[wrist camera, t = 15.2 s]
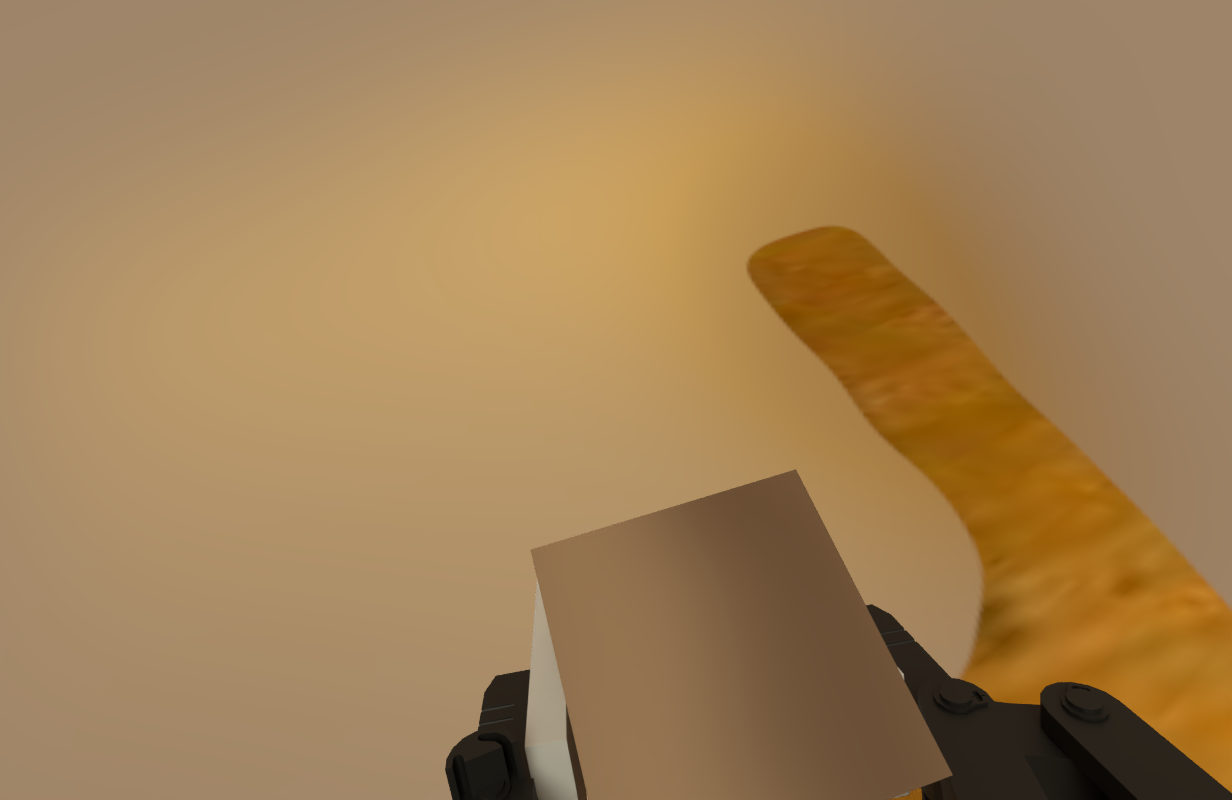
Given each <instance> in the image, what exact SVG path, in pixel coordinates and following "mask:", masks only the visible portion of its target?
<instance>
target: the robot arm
mask: <svg viewBox="0 0 1232 800" xmlns="http://www.w3.org/2000/svg"><path fill="white" fill-rule="evenodd" d="M866 607H867V609H868V611H869V613H870V615H871V617H872V619H873V621H874V623H875V625H876V627H877V628H878V630H879V632H880V634H881V636H882V638H883V640H884V642H885V644H886V646H887V648H888V650H889V652H890V654H891V656H892V658H893V660H894V662H895V663H896V665H897V667H898V669H899V671H900V673H901V675H902V677H903V679H904V681H905V683H906V685H907V687H908V689H909V691H910V693H911V695H912V697H913V699H914V700H915V702H916V704H917V706H918V708H919V710H920V712H921V714H922V716H923V718H924V720H925V722H926V724H927V726H928V728H929V730H930V732H931V734H932V735H933V737H934V739H935V741H936V743H937V745H938V747H939V749H940V751H941V753H942V755H943V757H944V759H945V761H946V763H947V765H948V767H949V769H950V770H951V772H952V774H953V775H952V776H949V777H947V778H944V779H942V780H939V781H936V782H934V783H931V784H928V785H926V786H923V787H920V788H921V789H922V800H1232V793H1231V792H1229V791H1228V790H1227V789H1226V788H1225V787H1223V786H1222V785H1221V784H1220V783H1219V782H1217V781H1216V780H1215V779H1214V778H1212V777H1211V776H1210V775H1209V774H1208V773H1206V772H1205V771H1204V770H1203V769H1202V768H1200V767H1199V766H1198V765H1197V764H1195V763H1194V762H1193V761H1192V760H1191V759H1189V758H1188V757H1187V756H1186V755H1185V754H1183V753H1182V752H1181V751H1180V750H1178V749H1177V748H1176V747H1175V746H1174V745H1172V744H1171V743H1170V742H1169V741H1168V740H1166V739H1165V738H1164V737H1163V736H1161V735H1160V734H1159V733H1158V732H1157V731H1155V730H1154V729H1153V728H1152V727H1151V726H1149V725H1148V724H1147V723H1146V722H1144V721H1143V720H1142V719H1141V718H1140V717H1138V716H1137V715H1136V714H1135V713H1134V712H1132V711H1131V710H1130V709H1129V708H1127V707H1126V706H1125V705H1124V704H1123V703H1121V702H1120V701H1119V700H1117V699H1116V698H1114V697H1113V696H1111V695H1109V694H1108V693H1106V692H1104V691H1102V690H1099V689H1097V688H1094V687H1091V686H1089V685H1084V684H1079V683H1073V682H1059V683H1054V684H1051V685H1049V686H1046V687H1045V688H1044V690H1043V691H1042V692H1041V693H1040V705H1032V704H1013V703H1002V702H995V701H993V700H992V698H991V697H990V696H989V695H988V694H987V693H986V692H985V691H984V690H982V689H981V688H979V687H977V686H976V685H974V684H972V683H969V682H966V681H963V680H960V679H954V678H951V677H950V676H949V675H948V674H947V673H946V672H945V671H944V670H943V669H942V668H941V667H940V666H939V665H938V664H937V662H935V661H934V659H933V658H932V657H931V656H930V655H929V654H928V653H927V652H926V651H925V650H924V649H923V648H922V647H921V646H920V645H919V644H918V643H917V642H915V641H914V638H913V637H912V636H911V635H910V634H909V633H908V632H907V631H904V628H903V627H902V626H901V625H900V624H899V623H898V622H897V620H896V619H895V618H894V617H893V616H892V615H891V614H889V613H887V612H885V611H883V610H881V609H879V608H878V607H876V606H874V605H866ZM445 771H446V775H447V778H448V783H449V787H450V791H451V795H452V799H453V800H587V794H586V787H585V783H584V778H583V774H582V770H581V765H580V761H579V757H578V752H577V748H576V744H575V739H574V735H573V731H572V726H571V722H570V718H569V713H568V709H567V705H566V700H565V696H564V692H563V687H562V683H561V679H560V674H559V670H558V666H557V661H556V657H555V653H554V649H553V644H552V640H551V636H550V631H549V627H548V623H547V618H546V614H545V610H544V605H543V601H542V597H541V592H540V588H539V584H538V579H537V586H536V600H535V613H534V627H533V641H532V655H531V668H530V670H525V671H520V672H514V673H509V674H503V675H498V676H495V678H494V679H493V681H492V682H491V684H490V685H489V687H488V688H487V690H486V691H485V693H484V699H483V704H482V712H481V715H480V721H479V727H478V731H476V732H474V733H472V734H470V735H468V736H467V737H465V738H463V739H462V740H461V741H460V742H459V743H458V744H457V745H456V746H454V747H453V749H452V751H451V752H450V754H449V756H448V758H447V760H446V768H445ZM907 795H909V792H907V793H905V794H902V795H899V796H897V797H902V796H907ZM897 797H894V798H897Z"/></svg>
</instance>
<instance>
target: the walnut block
mask: <svg viewBox="0 0 1232 800" xmlns="http://www.w3.org/2000/svg"><path fill="white" fill-rule="evenodd" d="M531 553H532V557H533V562H534V566H535V571H536V575H537V579H538V584H539V588H540V592H541V597H542V601H543V605H544V610H545V614H546V618H547V623H548V627H549V631H550V636H551V640H552V644H553V649H554V653H555V657H556V661H557V666H558V670H559V674H560V679H561V683H562V687H563V692H564V696H565V700H566V705H567V709H568V713H569V718H570V722H571V726H572V731H573V735H574V739H575V744H576V748H577V752H578V757H579V761H580V765H581V770H582V774H583V778H584V783H585V787H586V791H587V796H588V800H889V799H892V798H894V797H897V796H899V795H902V794H905V793H907V792H910V791H913V790H915V789H918V788H920V787H923V786H926V785H928V784H931V783H934V782H936V781H939V780H942V779H944V778H947V777H949V776H952V775H953V774H952V772H951V770H950V769H949V767H948V765H947V763H946V761H945V759H944V757H943V755H942V753H941V751H940V749H939V747H938V745H937V743H936V741H935V739H934V737H933V735H932V734H931V732H930V730H929V728H928V726H927V724H926V722H925V720H924V718H923V716H922V714H921V712H920V710H919V708H918V706H917V704H916V702H915V700H914V699H913V697H912V695H911V693H910V691H909V689H908V687H907V685H906V683H905V681H904V679H903V677H902V675H901V673H900V671H899V669H898V667H897V665H896V663H895V662H894V660H893V658H892V656H891V654H890V652H889V650H888V648H887V646H886V644H885V642H884V640H883V638H882V636H881V634H880V632H879V630H878V628H877V627H876V625H875V623H874V621H873V619H872V617H871V615H870V613H869V611H868V609H867V607H866V605H865V603H864V601H863V599H862V598H861V596H860V593H859V592H858V590H857V588H856V586H855V584H854V582H853V580H852V578H851V576H850V574H849V572H848V570H847V568H846V566H845V565H844V562H843V561H842V559H841V557H840V555H839V553H838V551H837V549H836V547H835V545H834V543H833V541H832V539H831V537H830V535H829V533H828V531H827V529H826V527H825V525H824V524H823V521H822V520H821V518H820V516H819V514H818V512H817V510H816V508H815V506H814V504H813V502H812V500H811V498H810V496H809V494H808V493H807V490H806V488H805V486H804V485H803V483H802V481H801V479H800V477H799V475H798V473H797V471H796V470H793V471H790V472H786V473H783V474H780V475H776V476H773V477H770V478H766V479H763V480H760V481H757V482H753V483H750V484H747V485H743V486H740V487H737V488H733V489H730V490H727V491H723V492H720V493H717V494H713V495H710V496H707V497H704V498H700V499H697V500H694V501H690V502H687V503H684V504H681V505H677V506H674V507H671V508H667V509H664V510H661V511H657V512H654V513H651V514H648V515H644V516H641V517H637V518H634V519H631V520H628V521H624V522H621V523H618V524H614V525H611V526H608V527H605V528H601V529H598V530H595V531H591V532H588V533H585V534H581V535H578V536H575V537H571V538H568V539H565V540H562V541H558V542H555V543H552V544H548V545H545V546H542V547H538V548H535V549H532V550H531Z"/></svg>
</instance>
